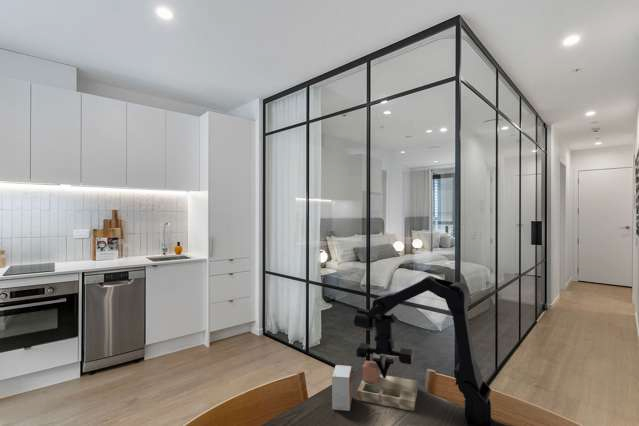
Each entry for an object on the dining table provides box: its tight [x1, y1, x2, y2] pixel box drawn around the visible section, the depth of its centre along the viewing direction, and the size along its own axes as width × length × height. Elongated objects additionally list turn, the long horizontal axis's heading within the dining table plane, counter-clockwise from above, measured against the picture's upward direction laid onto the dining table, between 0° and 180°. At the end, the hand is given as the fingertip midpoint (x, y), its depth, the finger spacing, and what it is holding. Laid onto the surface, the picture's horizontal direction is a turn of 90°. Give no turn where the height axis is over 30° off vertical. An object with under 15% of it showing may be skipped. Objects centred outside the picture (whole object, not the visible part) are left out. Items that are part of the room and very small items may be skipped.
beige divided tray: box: [356, 374, 418, 412], centre depth 109 cm, size 18×13×3 cm
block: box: [362, 360, 381, 384], centre depth 113 cm, size 5×5×5 cm
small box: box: [331, 364, 353, 412], centre depth 104 cm, size 8×6×10 cm
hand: (384, 377), depth 112 cm, fingers closed
